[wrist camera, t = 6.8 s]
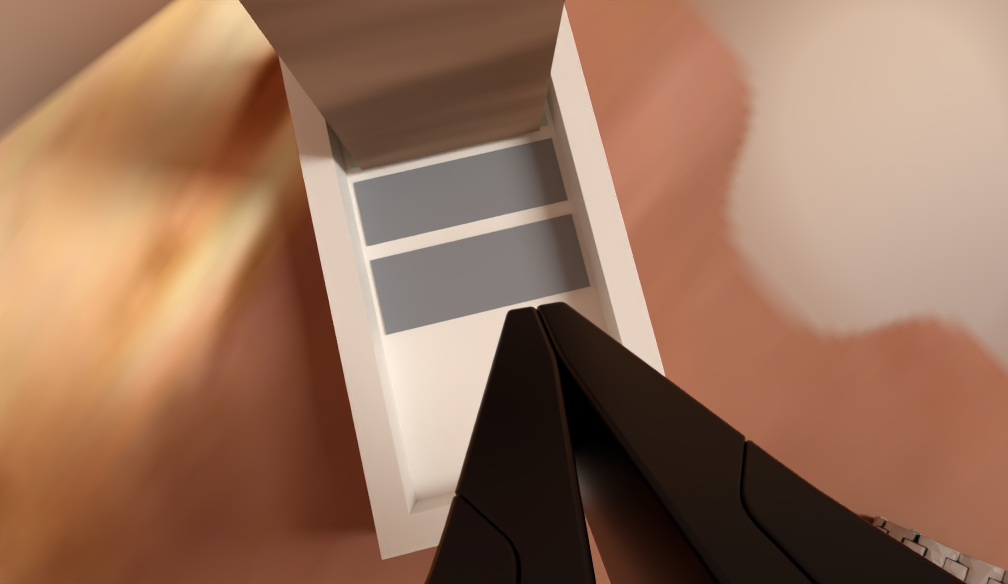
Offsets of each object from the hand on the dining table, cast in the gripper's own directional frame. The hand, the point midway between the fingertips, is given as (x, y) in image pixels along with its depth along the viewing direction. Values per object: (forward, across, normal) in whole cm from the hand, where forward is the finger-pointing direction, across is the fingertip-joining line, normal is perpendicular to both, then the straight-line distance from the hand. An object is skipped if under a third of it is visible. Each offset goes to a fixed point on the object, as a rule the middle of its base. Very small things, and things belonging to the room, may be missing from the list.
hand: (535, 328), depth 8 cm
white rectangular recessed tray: (+10, 0, +5) cm, 11 cm away
